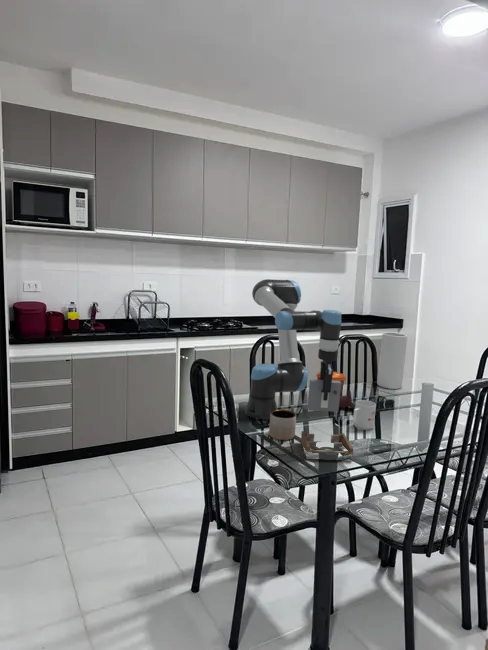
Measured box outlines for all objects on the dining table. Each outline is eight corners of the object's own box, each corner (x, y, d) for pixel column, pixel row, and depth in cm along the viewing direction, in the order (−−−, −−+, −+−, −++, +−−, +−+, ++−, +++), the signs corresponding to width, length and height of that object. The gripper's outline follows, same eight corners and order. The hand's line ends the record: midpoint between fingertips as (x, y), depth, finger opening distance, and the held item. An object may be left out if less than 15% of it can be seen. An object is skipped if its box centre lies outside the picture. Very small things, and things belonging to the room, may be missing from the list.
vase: (381, 389, 266) (387, 336, 261) (373, 382, 280) (378, 331, 275) (405, 390, 267) (412, 337, 262) (395, 383, 281) (401, 332, 276)
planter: (292, 431, 196) (294, 409, 194) (296, 441, 185) (298, 419, 184) (267, 430, 195) (269, 408, 194) (269, 440, 185) (271, 417, 183)
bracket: (370, 408, 222) (367, 388, 224) (334, 411, 225) (332, 391, 228) (369, 409, 228) (366, 389, 230) (335, 412, 231) (332, 392, 234)
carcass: (306, 459, 170) (307, 446, 169) (300, 443, 184) (301, 431, 183) (351, 461, 170) (353, 448, 169) (342, 444, 184) (343, 433, 184)
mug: (360, 421, 211) (363, 398, 210) (377, 428, 205) (380, 404, 203) (344, 427, 204) (347, 403, 202) (361, 433, 197) (364, 409, 195)
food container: (317, 387, 262) (319, 369, 261) (345, 391, 258) (347, 373, 256) (312, 395, 247) (314, 375, 246) (342, 399, 243) (344, 380, 241)
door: (309, 411, 183) (311, 382, 181) (307, 407, 187) (310, 379, 185) (338, 412, 183) (341, 383, 181) (336, 409, 187) (339, 380, 185)
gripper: (342, 354, 173) (336, 413, 177) (333, 345, 189) (328, 399, 193) (323, 353, 173) (317, 412, 177) (315, 344, 189) (310, 398, 193)
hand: (323, 405), depth 185 cm, fingers closed on door, 3 cm apart
